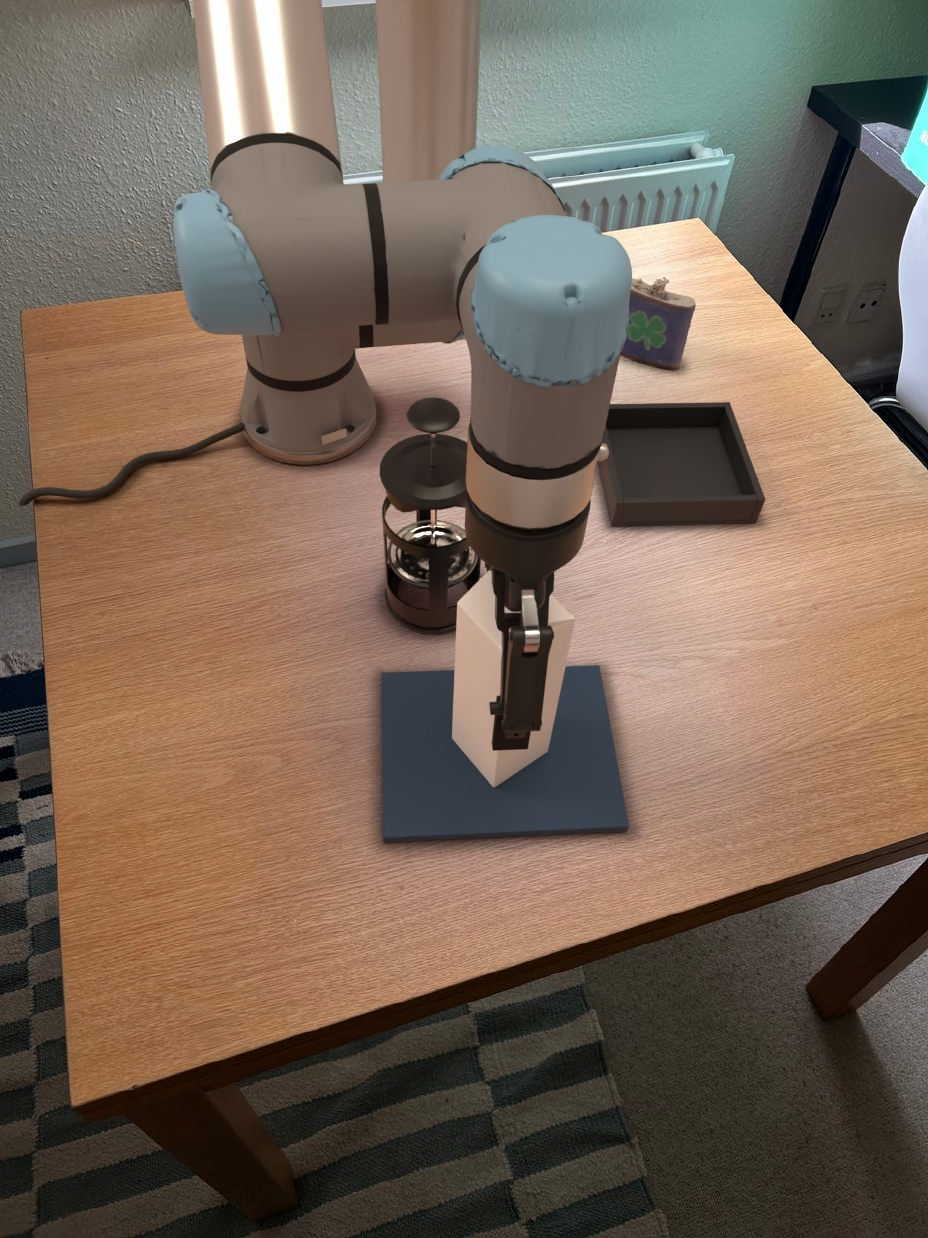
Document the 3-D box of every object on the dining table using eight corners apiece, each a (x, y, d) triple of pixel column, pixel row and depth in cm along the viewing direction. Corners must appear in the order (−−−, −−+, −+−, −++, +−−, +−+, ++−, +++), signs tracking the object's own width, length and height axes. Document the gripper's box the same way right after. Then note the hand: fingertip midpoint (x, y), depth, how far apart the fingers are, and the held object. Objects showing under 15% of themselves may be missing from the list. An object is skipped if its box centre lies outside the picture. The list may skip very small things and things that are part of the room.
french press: (488, 635, 87) (503, 453, 69) (389, 644, 86) (378, 461, 68) (471, 544, 94) (480, 357, 76) (379, 551, 93) (367, 363, 75)
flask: (682, 362, 114) (702, 284, 105) (674, 375, 112) (694, 297, 104) (614, 338, 116) (628, 261, 108) (605, 351, 115) (619, 273, 106)
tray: (611, 526, 96) (616, 503, 94) (589, 428, 106) (594, 403, 103) (756, 523, 97) (765, 499, 94) (722, 425, 107) (729, 401, 104)
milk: (493, 789, 76) (512, 633, 59) (450, 737, 79) (455, 573, 61) (549, 751, 78) (583, 590, 61) (505, 702, 81) (525, 534, 64)
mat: (383, 843, 74) (382, 837, 73) (381, 678, 84) (381, 672, 83) (627, 831, 75) (629, 826, 74) (597, 671, 85) (599, 664, 84)
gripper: (620, 627, 48) (568, 816, 66) (568, 377, 61) (536, 593, 79) (479, 631, 48) (465, 821, 66) (456, 379, 61) (450, 596, 79)
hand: (504, 696), depth 73 cm, fingers closed on milk, 8 cm apart
